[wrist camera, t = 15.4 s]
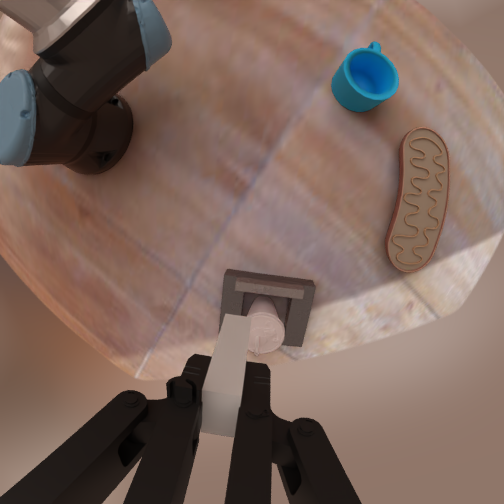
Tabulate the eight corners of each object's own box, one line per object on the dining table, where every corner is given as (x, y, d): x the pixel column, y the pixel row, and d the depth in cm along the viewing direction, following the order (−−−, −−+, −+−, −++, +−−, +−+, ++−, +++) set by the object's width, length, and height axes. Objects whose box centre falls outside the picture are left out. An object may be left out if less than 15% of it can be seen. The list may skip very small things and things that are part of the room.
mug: (371, 120, 39) (391, 110, 31) (324, 99, 39) (336, 84, 31) (388, 63, 36) (407, 46, 28) (344, 43, 36) (357, 21, 28)
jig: (221, 327, 49) (216, 342, 44) (227, 268, 46) (222, 279, 41) (300, 337, 49) (302, 353, 44) (312, 280, 46) (317, 292, 41)
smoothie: (238, 295, 47) (226, 340, 34) (274, 282, 46) (276, 324, 33) (252, 327, 49) (246, 377, 35) (287, 315, 48) (293, 364, 34)
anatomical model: (392, 124, 39) (405, 119, 34) (439, 140, 39) (455, 138, 34) (371, 259, 45) (382, 269, 40) (419, 267, 45) (432, 276, 40)
